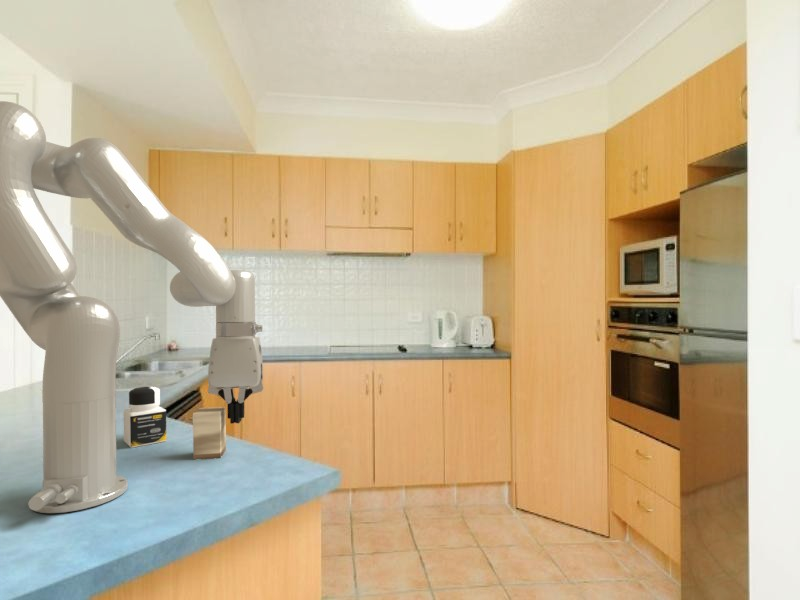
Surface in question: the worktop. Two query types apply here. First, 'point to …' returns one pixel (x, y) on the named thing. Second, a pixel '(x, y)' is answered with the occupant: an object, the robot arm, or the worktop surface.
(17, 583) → the worktop surface
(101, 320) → the robot arm
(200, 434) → the birch block
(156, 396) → the medicine bottle
